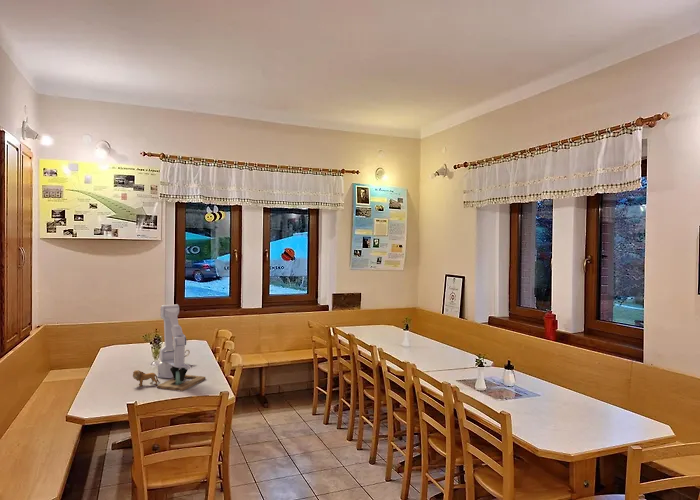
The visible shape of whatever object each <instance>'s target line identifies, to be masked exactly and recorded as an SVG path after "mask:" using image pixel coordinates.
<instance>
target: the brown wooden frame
mask: <svg viewBox="0 0 700 500" xmlns="http://www.w3.org/2000/svg"><path fill="white" fill-rule="evenodd" d="M185 379H188V380H186V381H183V383H182V384H180V385H176V384H175V382H176V380H174V377H172V378H170V379H168V380H166V381H164V382H162V383H159V384H157V385H156V388H157V389H160V388H161V390H162V389H163V390H170V391H177V390H180V391H179V392H183V391H185V390H187V389H190V388H191V387H193V386H195V385H197V384H199V383H201V382H203V381H205V380H206V376H201V375H200V376H199V375H192V374H185V377H184V380H185ZM189 379H190V380H189Z"/></svg>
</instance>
